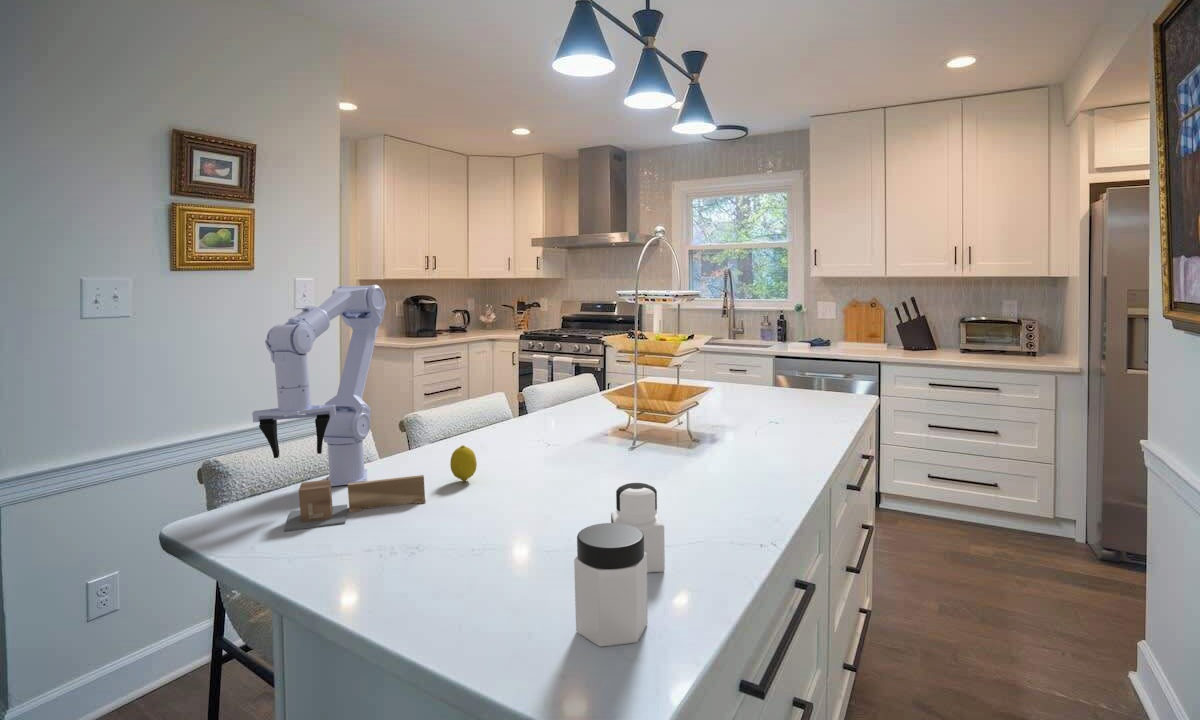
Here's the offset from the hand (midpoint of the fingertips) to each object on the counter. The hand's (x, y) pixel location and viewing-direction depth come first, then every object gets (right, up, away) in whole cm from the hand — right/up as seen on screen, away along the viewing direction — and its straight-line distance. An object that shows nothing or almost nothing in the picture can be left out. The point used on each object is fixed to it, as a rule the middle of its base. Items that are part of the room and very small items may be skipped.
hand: (298, 454), depth 127 cm
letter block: (+7, -10, -7) cm, 14 cm away
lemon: (+30, -8, +14) cm, 34 cm away
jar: (+61, -15, -47) cm, 78 cm away
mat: (+7, -11, -7) cm, 15 cm away
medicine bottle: (+65, -12, -29) cm, 72 cm away
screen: (+18, -10, -1) cm, 20 cm away
